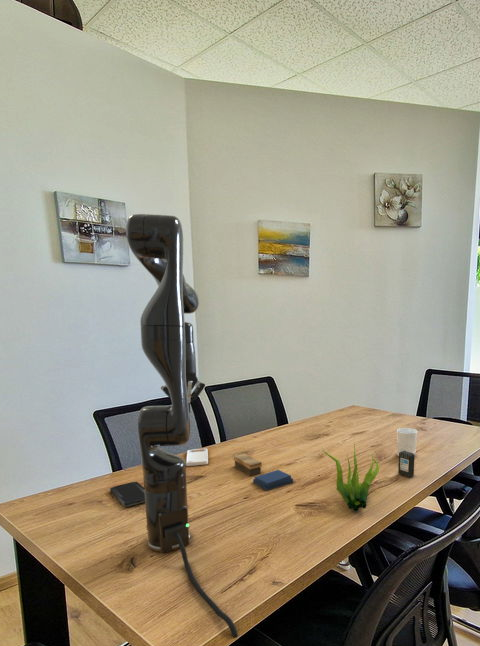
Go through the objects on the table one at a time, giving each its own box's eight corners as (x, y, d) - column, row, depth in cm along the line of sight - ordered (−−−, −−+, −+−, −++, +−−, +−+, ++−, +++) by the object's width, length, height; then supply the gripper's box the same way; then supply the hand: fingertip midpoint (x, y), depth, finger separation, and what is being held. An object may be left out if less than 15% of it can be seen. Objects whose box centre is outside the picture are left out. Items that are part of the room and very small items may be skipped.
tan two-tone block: (262, 473, 146) (261, 462, 146) (250, 476, 143) (250, 465, 143) (245, 463, 155) (244, 453, 155) (233, 466, 152) (233, 455, 152)
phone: (136, 481, 136) (153, 496, 125) (136, 484, 136) (153, 499, 125) (108, 487, 131) (124, 504, 120) (109, 491, 131) (124, 508, 120)
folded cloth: (293, 482, 139) (293, 475, 139) (266, 490, 133) (265, 483, 132) (279, 475, 145) (279, 468, 145) (253, 482, 139) (252, 475, 138)
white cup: (419, 454, 166) (420, 429, 165) (411, 460, 160) (412, 434, 158) (400, 451, 171) (401, 426, 169) (392, 456, 164) (393, 431, 162)
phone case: (207, 464, 154) (207, 451, 168) (207, 460, 154) (207, 448, 168) (186, 466, 152) (187, 453, 166) (185, 462, 152) (187, 449, 166)
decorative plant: (385, 476, 145) (387, 434, 142) (365, 516, 117) (366, 464, 114) (334, 470, 150) (335, 429, 147) (303, 507, 122) (303, 457, 119)
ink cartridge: (397, 474, 147) (398, 451, 145) (402, 472, 148) (402, 450, 147) (409, 478, 143) (410, 455, 142) (413, 476, 145) (414, 453, 144)
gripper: (162, 360, 120) (166, 421, 122) (208, 357, 128) (211, 414, 131) (154, 358, 125) (158, 416, 128) (199, 355, 134) (201, 410, 136)
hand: (185, 415), depth 129 cm, fingers closed
